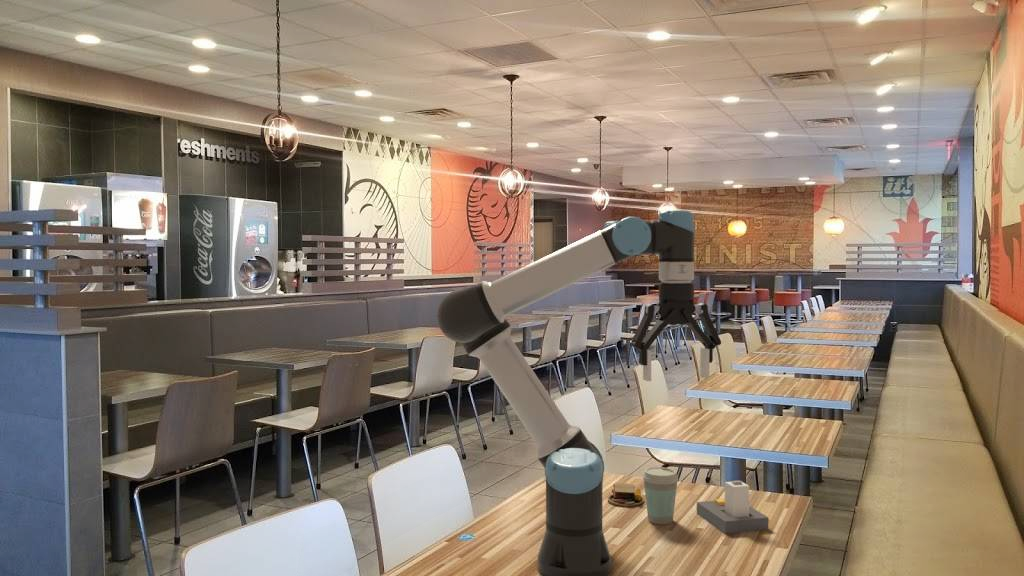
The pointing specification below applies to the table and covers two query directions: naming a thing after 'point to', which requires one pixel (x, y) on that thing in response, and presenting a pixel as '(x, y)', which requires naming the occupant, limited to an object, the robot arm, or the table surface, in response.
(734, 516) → the block
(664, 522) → the coffee cup
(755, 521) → the grey charger dock
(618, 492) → the toy sandwich meal
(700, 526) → the table surface
